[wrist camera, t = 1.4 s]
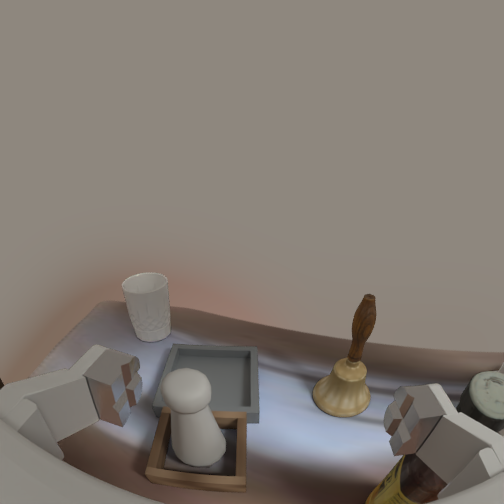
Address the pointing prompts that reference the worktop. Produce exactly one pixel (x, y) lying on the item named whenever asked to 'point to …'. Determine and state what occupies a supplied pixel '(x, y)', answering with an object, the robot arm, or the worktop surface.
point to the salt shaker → (192, 418)
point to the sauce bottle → (423, 477)
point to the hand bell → (349, 370)
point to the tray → (219, 376)
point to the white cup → (148, 305)
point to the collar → (198, 480)
